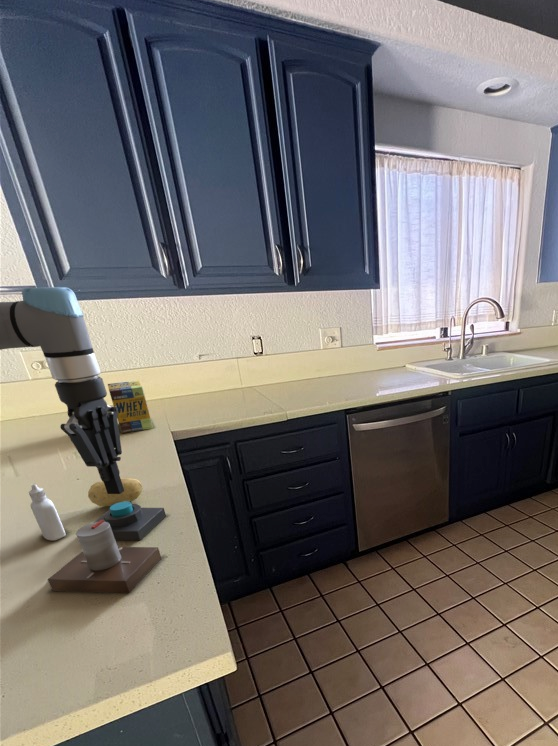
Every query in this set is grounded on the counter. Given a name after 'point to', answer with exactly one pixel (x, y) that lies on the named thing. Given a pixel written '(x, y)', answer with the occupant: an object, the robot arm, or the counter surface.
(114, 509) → the teal round puck
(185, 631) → the counter surface
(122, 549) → the dial panel
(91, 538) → the dial
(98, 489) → the potato
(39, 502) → the eye dropper bottle
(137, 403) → the protein box
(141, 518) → the push button box
